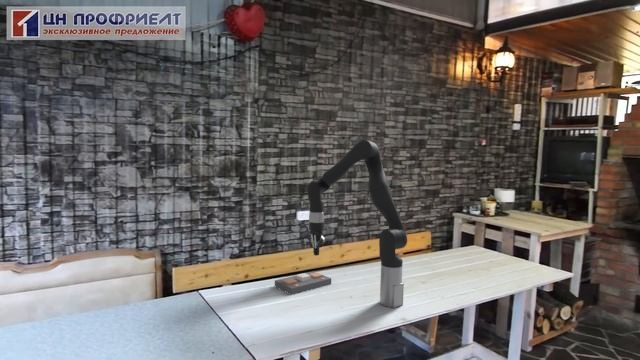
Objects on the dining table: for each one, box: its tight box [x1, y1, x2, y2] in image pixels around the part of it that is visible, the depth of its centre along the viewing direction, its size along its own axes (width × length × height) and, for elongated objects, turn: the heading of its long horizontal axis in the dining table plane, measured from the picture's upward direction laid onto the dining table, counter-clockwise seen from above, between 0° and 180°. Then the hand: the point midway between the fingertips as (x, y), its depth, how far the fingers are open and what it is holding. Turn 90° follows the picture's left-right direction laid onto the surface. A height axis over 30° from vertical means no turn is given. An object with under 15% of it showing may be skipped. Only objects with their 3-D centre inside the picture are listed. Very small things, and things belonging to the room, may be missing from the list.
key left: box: [283, 278, 297, 285], centre depth 196 cm, size 5×5×3 cm
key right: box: [309, 271, 324, 279], centre depth 206 cm, size 5×5×3 cm
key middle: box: [295, 272, 311, 282], centre depth 201 cm, size 5×5×3 cm
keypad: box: [274, 271, 332, 296], centre depth 201 cm, size 14×24×3 cm, turn 129°
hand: (316, 255), depth 205 cm, fingers closed
